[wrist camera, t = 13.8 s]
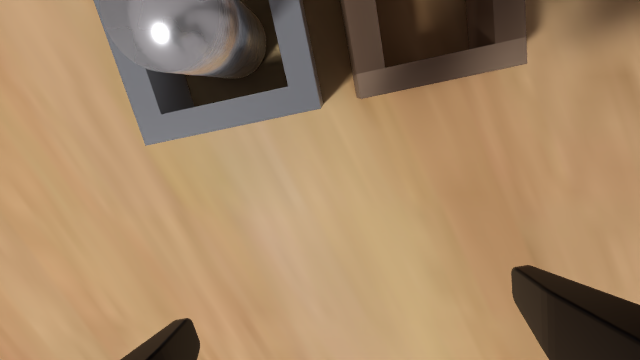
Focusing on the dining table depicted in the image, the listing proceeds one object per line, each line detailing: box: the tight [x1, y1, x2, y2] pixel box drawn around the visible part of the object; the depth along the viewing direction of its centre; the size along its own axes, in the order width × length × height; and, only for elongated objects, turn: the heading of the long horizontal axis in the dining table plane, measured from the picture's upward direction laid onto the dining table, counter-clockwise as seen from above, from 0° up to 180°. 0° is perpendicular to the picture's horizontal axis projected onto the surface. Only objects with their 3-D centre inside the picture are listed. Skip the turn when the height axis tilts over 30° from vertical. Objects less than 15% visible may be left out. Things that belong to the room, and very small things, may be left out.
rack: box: [94, 0, 323, 145], centre depth 16 cm, size 9×12×4 cm
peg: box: [99, 0, 267, 79], centre depth 14 cm, size 4×4×8 cm
